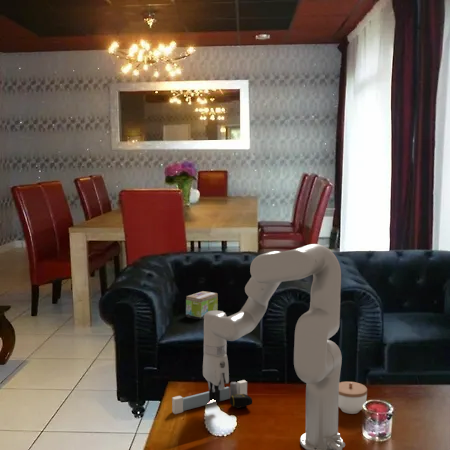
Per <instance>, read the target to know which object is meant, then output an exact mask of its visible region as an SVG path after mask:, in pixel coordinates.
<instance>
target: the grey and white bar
mask: <svg viewBox="0 0 450 450" xmlns="http://www.w3.org/2000/svg"><path fill="white" fill-rule="evenodd" d="M229 388H230V397H231V396H232V395H235V394H246V395H248V381H246V380H245V379H242V380H239V381H237V382H236V381H231V382H230V385H229ZM183 398H184V397H183V396H182V395H176V396H173V397H171V403H172V405H171V408H172V409H171V411H172V413H173V414H174V415H177V414H181V413H184V410H183Z"/></svg>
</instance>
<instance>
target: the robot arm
mask: <svg viewBox="0 0 450 450" xmlns="http://www.w3.org/2000/svg"><path fill="white" fill-rule="evenodd" d="M249 269H250V271H249V272H250V275H251V277H250V278H249V280H248V281H247V283H246V284H245V287H244V292H245V294H246V295H247V297H248V298H247V300H246V301H245V303H244V304H243V306H242V307H241V309H240V310H239V311H238V312H236V313H234V314H231V315H229V316H227V314H226V312H224V311H223V310H218V311H217V310H214V311H208V312H206V313H205V315H204V319H203V359H202V360H203V361H202V376H203V378H205V380H206V381H207V384H208V391H209V401H210V400H212V399H214V400H216V403H218V402H219V403H220V402H221V401H220V391H221V390H224V389H225V388H224V387H225V385H226V384H227V385H228V384H229V382H230V376H229V375H230V373H229V369H230V368H229V360H228V355H227V347H228V344H227V341H230V342H234V341H237V340H239V339H241V338H243V336H246V335H248V334H250V333H251V332H252V331H253V330H255V329H256V327H257V326H258V324H259V323H260V321H261V320H262V319H263V317H264V316H265V313H266V312H267V309H268V306H269V301H270V299H271V298H272V296H273V295H274V293H275V292H276V291H277V288H278V287H279V286H280V284H281V283H282V282H283V283H284V282H291V281H298V280H302V279H304V278H307V277H309V276H312V283H311V287H310V300H309V301H310V302H309V309H308V310H307V311H306V312H304V313H303V314H301V316H300V317H299V318H298V320H297V322H296V324H295V328H294V329H295V330H294V343H293V344H294V347H293V365H294V370H295V373H296V375H297V377H298V378H299V379H300V381H302V382H303V383H306V384H305V385H306V387H305V433H303V434H302V435H301V436H300V438H299V442H300V445H301V447H302V448H304V449H305V450H343V448H345V446H346V443H345V442H344V440H343V438H342V437H341V433H339V406H338V399H339V383H340V377H341V368H342V362H343V361H342V360H343V359H342V358H343V356H342V352H341V350H340V347H339V345H337V344H336V342H334V341H332V340H330V338H332V337H333V336H335V335H336V333H338V331H339V330H340V329H339V328H340V325H341V324H340V322H341V321H340V320H341V319H340V318H341V289H342V286H341V285H342V270H341V265H340V262H339V260H338V258H337V256H336V255H335V254H334V252H333V251H331V250H330V249H329V248H328V247H326V246H325V245H322V244H318V243H310V244H307V245H303V246H300V247H297V248H294V249H291V250H290V249H289V250H286V251H285V250H283V251H278V250H272V251H268V252H265V253H261V254H258V255H257V256H256V257H255V258H253V260H252V261H251V263H250V268H249Z"/></svg>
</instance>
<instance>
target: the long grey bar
mask: <svg viewBox="0 0 450 450" xmlns="http://www.w3.org/2000/svg"><path fill="white" fill-rule="evenodd" d="M224 388H225V389H224V390H221V391H220V401H219V402H222V401H225V400H230V386H226V387H225V386H224ZM208 402H209V390H208V391H205V392H201V393H196V394H193V395H188V396H185V397H183V412H185V411H187V410H188V411H189V410H191V409H195V408H200V407H203V406H207V405H208V404H207V403H208ZM206 404H207V405H206Z"/></svg>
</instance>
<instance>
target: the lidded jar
mask: <svg viewBox="0 0 450 450" xmlns="http://www.w3.org/2000/svg"><path fill="white" fill-rule="evenodd" d="M367 397H368V388H367V387H366V386H365V384H362V383H359V382H355V381H341V382H340V381H339V399H338V409H340V410H341V411H342V412H343V413H345V414H348V415H349V414H351V415H354V414H358V413H360V411H362V410H363V408H362V404H363V403H364V402H366V403H367Z"/></svg>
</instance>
